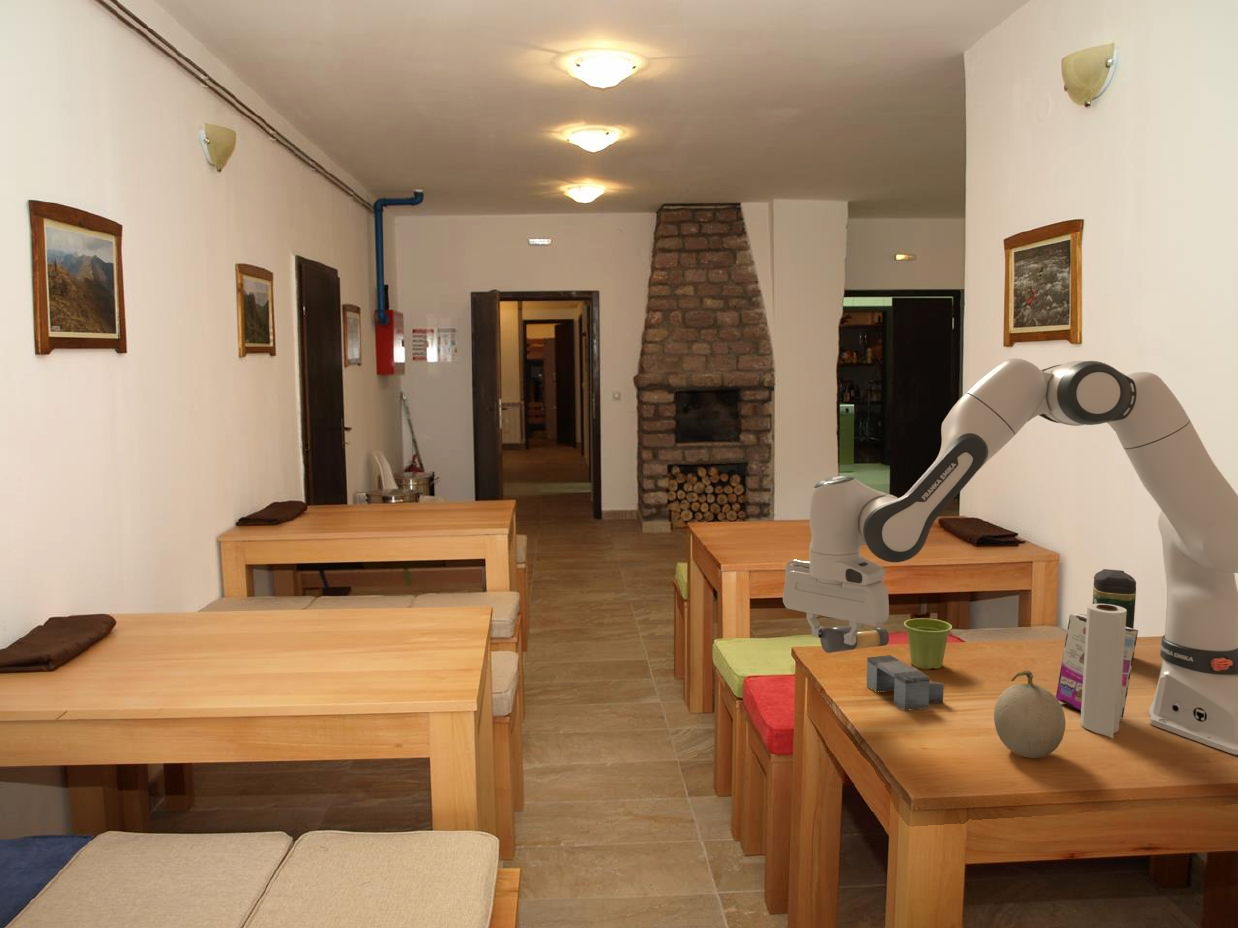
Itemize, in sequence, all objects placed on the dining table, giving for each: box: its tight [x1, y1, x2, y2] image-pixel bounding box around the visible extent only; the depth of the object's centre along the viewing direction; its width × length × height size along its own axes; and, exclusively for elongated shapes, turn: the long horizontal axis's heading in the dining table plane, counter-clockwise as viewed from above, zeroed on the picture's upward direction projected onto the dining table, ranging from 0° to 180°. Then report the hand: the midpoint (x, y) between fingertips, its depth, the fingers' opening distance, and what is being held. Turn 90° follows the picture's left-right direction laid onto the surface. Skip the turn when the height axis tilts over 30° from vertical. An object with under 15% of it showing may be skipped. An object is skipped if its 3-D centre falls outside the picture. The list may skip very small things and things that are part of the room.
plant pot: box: [903, 617, 953, 670], centre depth 197 cm, size 9×9×9 cm
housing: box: [866, 654, 945, 711], centre depth 180 cm, size 13×9×6 cm
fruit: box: [993, 670, 1066, 759], centre depth 154 cm, size 10×12×15 cm
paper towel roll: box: [1080, 603, 1127, 739], centre depth 164 cm, size 7×6×21 cm
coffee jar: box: [1091, 568, 1137, 629], centre depth 201 cm, size 10×8×19 cm
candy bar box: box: [1055, 613, 1139, 721], centre depth 172 cm, size 11×5×16 cm, turn 20°
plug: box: [819, 625, 890, 654], centre depth 176 cm, size 12×4×4 cm, turn 111°
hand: (833, 640), depth 174 cm, fingers closed on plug, 5 cm apart
